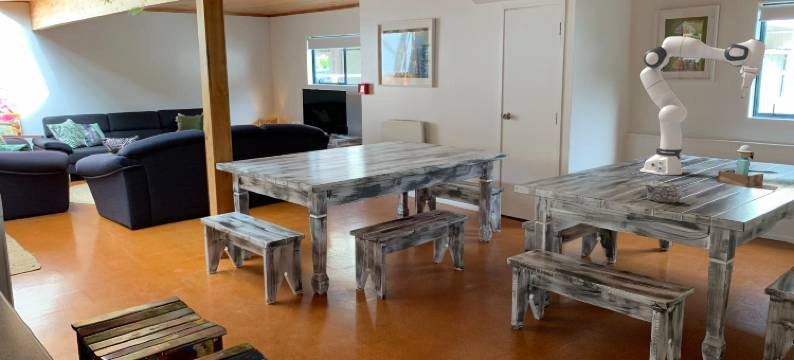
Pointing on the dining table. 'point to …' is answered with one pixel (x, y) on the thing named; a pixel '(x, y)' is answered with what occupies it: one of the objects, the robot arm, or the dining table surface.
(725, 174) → the crate
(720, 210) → the dining table surface
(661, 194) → the rock
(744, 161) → the block
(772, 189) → the coaster
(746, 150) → the toy
